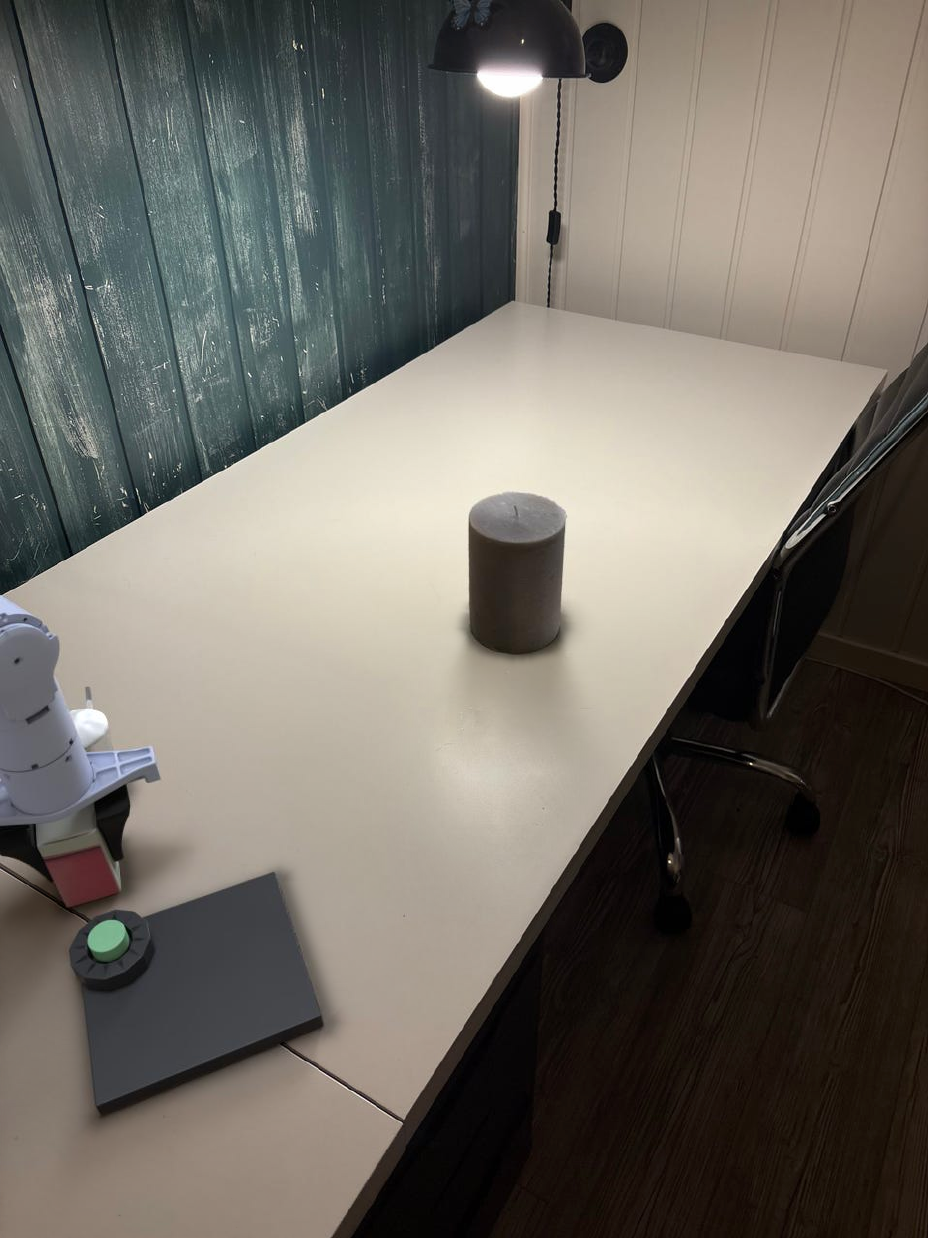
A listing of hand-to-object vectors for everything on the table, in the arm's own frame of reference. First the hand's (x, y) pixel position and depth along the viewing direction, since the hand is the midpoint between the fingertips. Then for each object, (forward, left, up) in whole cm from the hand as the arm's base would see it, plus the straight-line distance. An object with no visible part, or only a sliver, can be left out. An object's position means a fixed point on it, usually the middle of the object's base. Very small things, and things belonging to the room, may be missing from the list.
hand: (86, 861), depth 73 cm
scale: (+6, -13, -2) cm, 14 cm away
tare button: (+1, -9, +1) cm, 9 cm away
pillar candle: (+45, +15, -2) cm, 47 cm away
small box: (0, 0, -2) cm, 2 cm away
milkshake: (+2, +9, -2) cm, 9 cm away
